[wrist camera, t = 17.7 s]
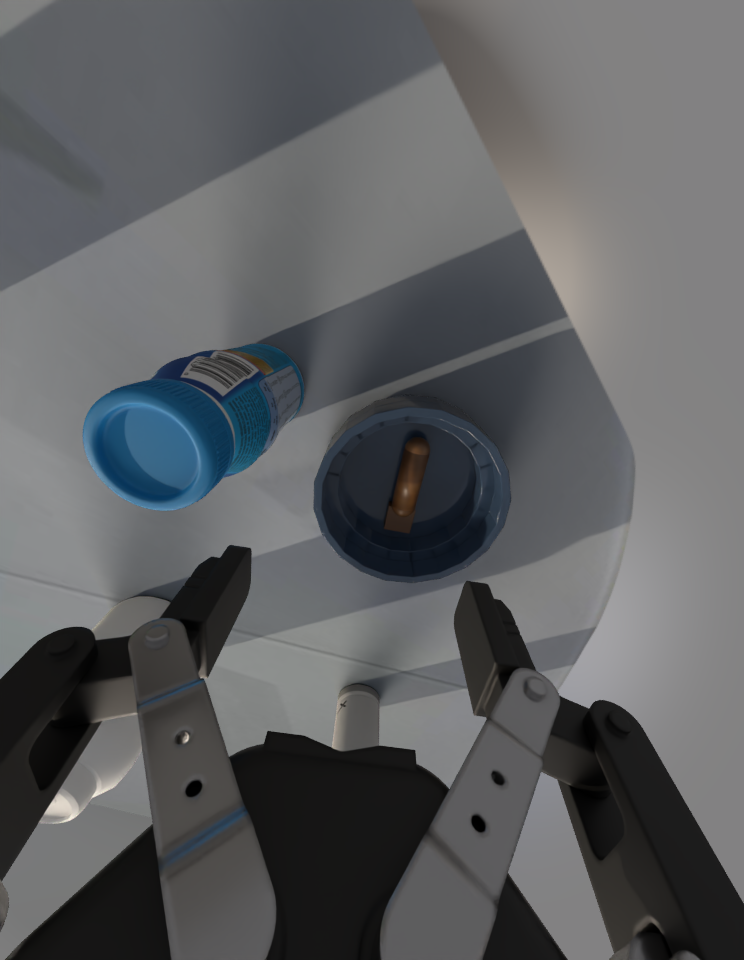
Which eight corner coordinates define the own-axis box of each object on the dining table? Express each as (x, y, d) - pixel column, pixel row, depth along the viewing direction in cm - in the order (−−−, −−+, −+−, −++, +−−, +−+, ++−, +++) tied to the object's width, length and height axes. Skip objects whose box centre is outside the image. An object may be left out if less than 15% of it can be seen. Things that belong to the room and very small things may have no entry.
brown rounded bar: (404, 431, 37) (406, 439, 35) (433, 436, 38) (436, 444, 35) (383, 523, 42) (383, 536, 40) (408, 528, 42) (410, 540, 40)
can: (140, 577, 47) (-15, 743, 29) (220, 629, 50) (127, 807, 32) (94, 627, 51) (-67, 801, 33) (172, 672, 54) (64, 853, 36)
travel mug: (332, 684, 54) (306, 871, 36) (376, 682, 54) (372, 870, 35) (339, 712, 57) (319, 899, 39) (382, 709, 56) (381, 898, 38)
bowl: (483, 375, 36) (501, 386, 30) (499, 534, 43) (517, 566, 37) (301, 416, 38) (288, 433, 32) (346, 560, 45) (341, 594, 40)
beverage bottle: (321, 407, 37) (262, 494, 19) (251, 439, 39) (135, 548, 21) (280, 325, 34) (161, 335, 16) (206, 364, 36) (22, 413, 18)
